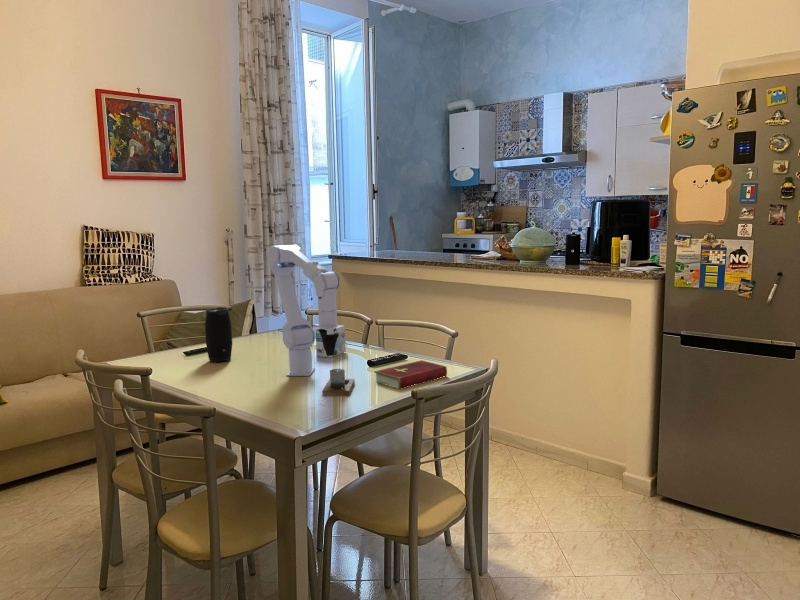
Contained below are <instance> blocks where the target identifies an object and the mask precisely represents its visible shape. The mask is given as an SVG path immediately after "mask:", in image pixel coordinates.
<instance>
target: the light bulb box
mask: <svg viewBox="0 0 800 600" xmlns="http://www.w3.org/2000/svg"><path fill="white" fill-rule="evenodd" d="M318 329H319V327H315V351H316V355H315V356H316V357H323V358H329V359H330V358H333V356H334V357H336V355H337V356H339V354H340V355H342V354H341V353H343V354H345V353H344V352H347V351H346V350H347V349H346V326H345V325H341V324H340V325H339V324H338V327H336V330H335V332H334V334H336V333H339V336H338V338H337V341H336V345H335V351H334V355H333V356H327V355H326V351H325V350H324V347H323V342H322V337H321V335H320V332H319V330H318Z"/></svg>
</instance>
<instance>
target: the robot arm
mask: <svg viewBox="0 0 800 600" xmlns="http://www.w3.org/2000/svg"><path fill="white" fill-rule="evenodd" d="M267 260H268V264H269V267H270V271H271V272H272V273H273V274H274V279H275V282H276V286H277V289H278V292H279V296H280V300H281V304H282V306H283V311H284V314H285V318H286V322H285V323H284V325H282V328H281V331H282V342H283V344H284V346H285V348H286V349H288V362H289V363H288V365H289V371H288V372H287V373H286V377H300V376H301V377H304V376H305V377H310V376H311V374H313V373H314V371H315V369H316V367H313V356H312V355H313V354H312V349H311V348H312V347H313V344H314V343H315V342H316V331H315V330H314V328H319V329H318V330H319V332H320V335H321V337H322V342H323V347H324V350H325V351H326V355H327V356H333V355H334V351H335V345H336V341H337V338H338V336H339V333H336V334H334V332H335V330H336V327H338V325H339V324H338V315H337V314H338V310H337V305H338V304H337V290H338V289H339V288H340V285H341V282H340V281H341V279H340V276H339V274H338V273H337V272H336V271H335V270H331V271H330V270H328V269H327V268H326V267H324V266H322V265H321V264H320V262H319V261H318V260H310V259H309V258H308V257H306V255H305V254H304V253H303V252H302V247H300V246H299V245H297V244H286V245H284V244H282V245H271V246H270V247H269V248H268V251H267ZM297 267H299V269H300V268H301V269H302V272H303V275H304V276H305V277H306V278H308V280H309V281H311V282H312V283H313V287H314V289H315V294H316V296H317V303H318V304H317V305H318V309H317V311H318V323H315V324H314V328H313V326H312V324H311V321H310V320H307V319H306V318H304V317H303V315H302V312H301V308H300V304H299V301H298V297H297V294H296V291H295V287H294V282H293V279H292V277H291V276H292V275H291V273H292V272H294V271H295V270H296V268H297Z"/></svg>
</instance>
